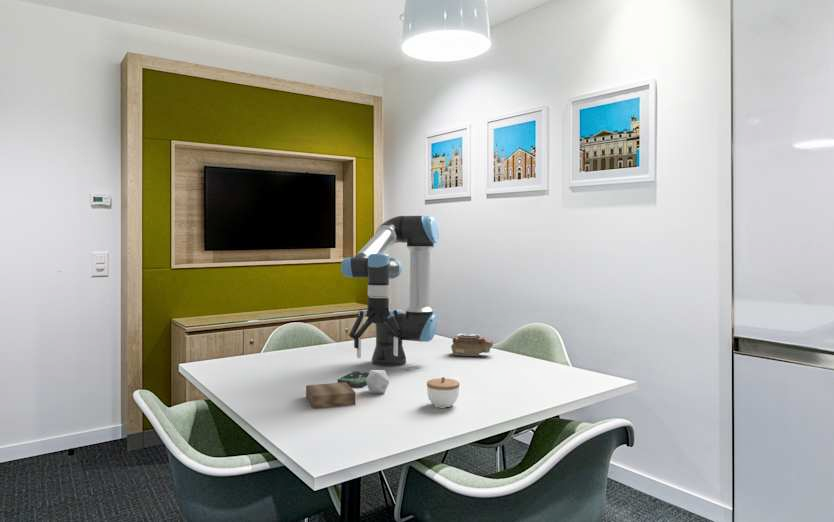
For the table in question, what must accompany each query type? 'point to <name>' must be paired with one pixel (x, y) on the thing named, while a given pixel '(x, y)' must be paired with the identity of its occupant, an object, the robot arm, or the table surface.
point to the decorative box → (470, 344)
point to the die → (377, 381)
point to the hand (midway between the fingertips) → (377, 356)
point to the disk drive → (355, 379)
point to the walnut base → (330, 395)
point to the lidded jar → (442, 391)
